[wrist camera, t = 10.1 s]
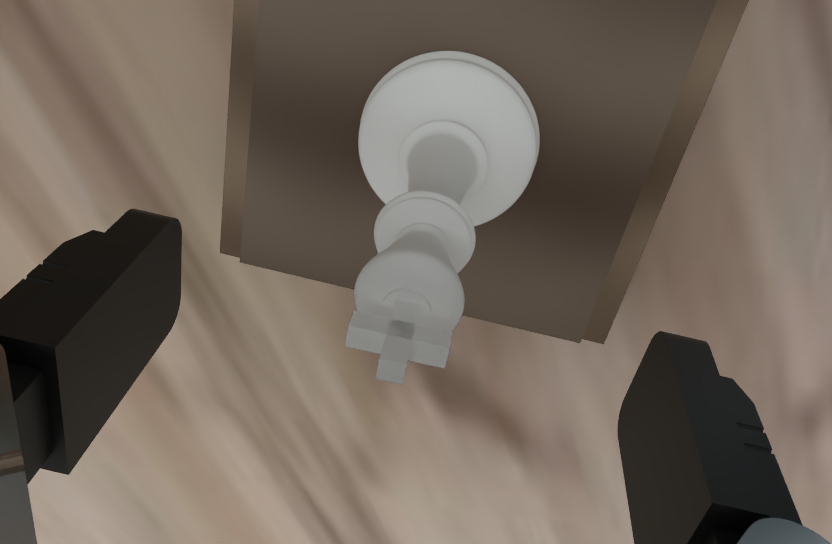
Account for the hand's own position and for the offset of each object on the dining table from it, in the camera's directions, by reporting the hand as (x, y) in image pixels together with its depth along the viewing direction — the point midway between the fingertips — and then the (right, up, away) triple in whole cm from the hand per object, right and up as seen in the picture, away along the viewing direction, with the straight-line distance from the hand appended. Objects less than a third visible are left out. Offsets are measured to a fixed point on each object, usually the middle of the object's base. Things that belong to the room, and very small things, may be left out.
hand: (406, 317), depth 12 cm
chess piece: (+1, +4, +8) cm, 9 cm away
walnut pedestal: (+2, +7, +12) cm, 14 cm away
